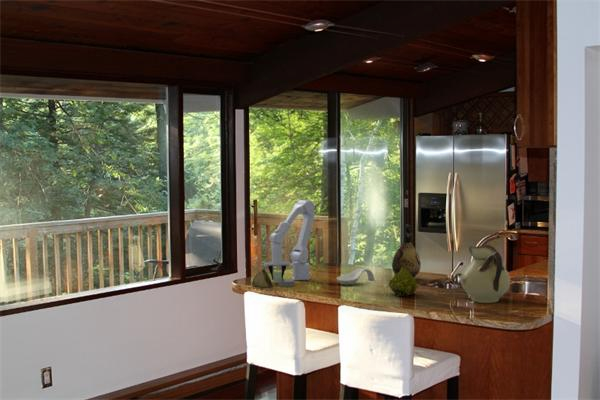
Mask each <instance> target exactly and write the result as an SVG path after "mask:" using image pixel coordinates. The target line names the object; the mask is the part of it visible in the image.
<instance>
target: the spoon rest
mask: <svg viewBox="0 0 600 400" xmlns="http://www.w3.org/2000/svg"><path fill="white" fill-rule="evenodd" d="M364 272H366V273H367V280H369V281H375V275H374V273H373V272H372V271H371V270H370V269H368V268H359V269H355V270H352V271H351V272H348V273H345V274H343V275H340V276H338V277H336V280H337V282H339V284H341V285H343V286H344V285H345V286H353V285H355V284H357V282H358V281H359V279H360V277H361V275H362V274H363V273H364Z"/></svg>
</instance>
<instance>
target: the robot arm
mask: <svg viewBox="0 0 600 400" xmlns="http://www.w3.org/2000/svg"><path fill="white" fill-rule="evenodd" d="M315 209H316V205H315V204H314V202H313V201H312V200H309V199H308V200H305V199H299V200H297V201H296V202H295V204H294V205H293V207H292V210H291V211H290V213H289V214H288V216H287V218H286V219H285V220H284V221H282V222H279V225H278V227H277V228H276V229H275V230H274V232H272V233H271V234H270V236H269V238H268V240H269V242H270V246H271V261H270V262H263V267H264V268H266V267H267V268H268V271H269V273H270V275H271V281H273V271H274V267H280V268H281V272H282V279H284V275H285V271H286V269H287V267H291V264H292V277H291V279H294V281H307V280H308V281H310V279H311V273H310V263H309V262H308V260H309V250H308V246H307V245H308V243H309V239H310V234H311V231H312V227H313V224H314V222H315V221H314V220H315ZM299 215H302V217H303V221H302V224H301V229H300V232H299V235H298V238H297V239H298V240H297V243H296V245H295V246H293V249H292V251H291V252H290V256H289V259H290V260H291V262H292V263H291V262H289V261H283V242H284V241H285V236H286V234H287V233H288V232H289V231H290V229H291V225H292V224H293V223H294V221H295V220H296V219H297V217H298V216H299Z"/></svg>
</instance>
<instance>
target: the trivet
mask: <svg viewBox="0 0 600 400" xmlns="http://www.w3.org/2000/svg"><path fill="white" fill-rule="evenodd" d="M278 287H280V288H281V287H283V288H284V287H295V280H294V279H292V278H283V279H279V283H278Z"/></svg>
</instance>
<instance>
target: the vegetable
mask: <svg viewBox="0 0 600 400" xmlns="http://www.w3.org/2000/svg"><path fill="white" fill-rule="evenodd" d="M393 275H394V276H393V277H392V279H388V280H389V282H388V287H389V288H390V289H389V290H391V291H392V292H393V293H394V296H393V297H404V296H405V297H409V295H412V294H413V293H415V292H416V291H417V289H418V287H419V284H418V282H416V281H417V277H412V274H410V272H408V271H407V270H406V269H404V267H401V270H400V272H398V274H397V275H396V274H395V273H394V274H393Z"/></svg>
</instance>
